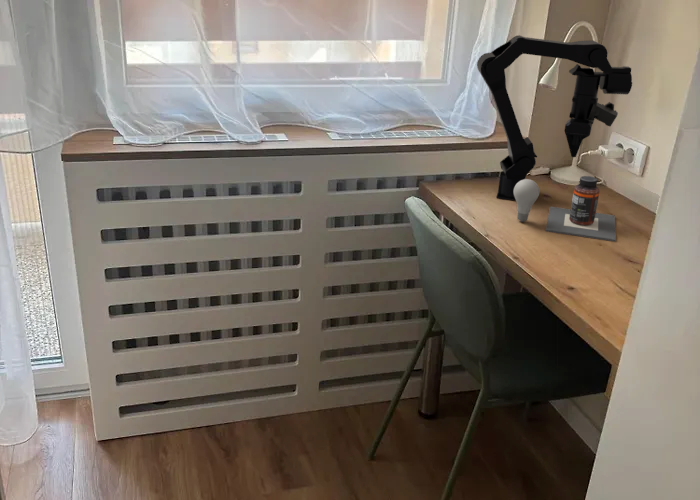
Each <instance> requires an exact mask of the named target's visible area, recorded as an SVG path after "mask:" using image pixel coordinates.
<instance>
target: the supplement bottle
mask: <svg viewBox="0 0 700 500" xmlns="http://www.w3.org/2000/svg"><path fill="white" fill-rule="evenodd" d="M578 182H579V183H578V184H576V185H575V186H574V188H573V193H572V201H571V206H570V209H571V211H570V218H569V219H570V221H571V222H573V223H575V224H578V225H591V224H592V223H593V222H594V219H595V214H596V213H597V209H598V202H599V196H600V188H599V187H598V186H597V185H598V184H597V183H598V178H597V177H594V176H591V175H583V176H580V177H579V181H578Z"/></svg>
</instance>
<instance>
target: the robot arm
mask: <svg viewBox="0 0 700 500" xmlns="http://www.w3.org/2000/svg"><path fill="white" fill-rule="evenodd" d="M522 55H531V56H539V57H546V58H553V59H554V58H555V59H563V60H569V61H571V62H574V63H576V65H575V66H573V67H572V68H570V69H569V71H568V73H570V74H571V75H572V76H576V78H575V79H576V80H575V84H574V90H573V95H572V99H571V102H572V103H571V108H570V112H569V118H570V119H568V120H567V121H566V122H565V124H564V135H565V138H566V141H567V146H568V148H569V153H570V157H572V158H576V157H577V155H578V153H579V151H580V150H579V149H580V147H581V145H582V142H583V140H585V139H586V138H588V137H589V136H590V135H591V132H592V128H593V124H594V122H595V120H596V121H599V122H601V123H603V124H605V126H607V127H611V126H612V125H613V123H614V122H615V120H616V118H617V117H618V114H619V113H618V111H617V110H615V104H614V103H613V102H610V101H609V102H607V103H605V104H602V103H600V102H598V100H599V97H598V92H599V90H602V93H603V94H604V95H605V94H607V95H629V93H630V92H631V90H632V86H633V81H632V80H633V78H632V67H629V66H624V65H623V66H612V65H611V63H610V61H609V59H608V49H607V48H606V47H605V45H603V44H601V43H600V42H597V41H596V40H590V39H589V40H577V41H571V42H566V41H559V40H550V39H542V38H535V37H534V38H533V37H525V36H522V35H514V36H513V37H511V39H510V40H508V41H507V42H505V43H503V44H502V45H500V46H498V47H496V48H495V49H493V50H492V51H490V52H485V53H484V54H482V55H481V56H480V57H479V58H478V60H477V62H476V68H477V70H478V72H479V74H480V76H481V77H482V79H483V81H484V83H485V84H486V86H487V87H488V89H489V91H490V93H491V96H492V99H493V102H494V105H495V107H496V108H495V109H496V110H497V114H498V116H499V120H500V123H501V125H502V128H503V131H504V133H505V136H506V140H507V152H508V155H507V156H506V157H504V158H503V159H502V160H501V161H500V162H499V165H500V169H501V171H500V174H499V179H498V189H497V194H496V195H495V197H496V198H497V199H500V200H501V199H502V200H511V201H516V199H515V196H514V187H515V185H516V184H517V183H518V182H519V181H521V180H524V179H526V177H527V176H528V173H529V172H530V171H532V170H533V169H534V167H535V166H536V158H538V155H537V154H536V153H535V149H534V144H533V142H532V140H531V139H530V138H529V137H528V136H525V138H524V137H523V134H522V131H521V129H520V125H519V122H518V120H517V117H516V114H515V111H514V107H513V105H512V102H511V99H510V96H509V94H508V90H507V81H506V72H505V70H506V69H507V68H508V67H510V66H511V65H512V64H513V63H514V62H515V61H516V60H517V59H518V58H519V57H521V56H522ZM581 65H582V66H585V67H582V66H581ZM594 69H597V70H600V71H594Z"/></svg>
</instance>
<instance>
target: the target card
mask: <svg viewBox="0 0 700 500" xmlns="http://www.w3.org/2000/svg"><path fill="white" fill-rule="evenodd" d="M570 211H571V208H563V207H557V206H549V211H548V215H547V216H548V217H547V221H546V226H545V227H546V228H545V232H547V233H555V234H561V235H568V236H575V237H582V238H590V239H593V240H594V239H596V240H602V241H609V242H614V243H615V242H616V241H617V239H616V238H617V237H616V217H615V215H614V214H607V213H599V212H596V214H595V219H594V222H593V223H592V224H591V225H578V224H575V223H573V222H571V221H570V219H569V218H570Z"/></svg>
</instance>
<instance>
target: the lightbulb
mask: <svg viewBox="0 0 700 500" xmlns="http://www.w3.org/2000/svg"><path fill="white" fill-rule="evenodd" d="M514 196H515V199H516V200H515V201H516V207H517V208H516V211H517V217H516V218H517V220H518V221H519V222H521V223H523V222H526V221H528V219H529V215H530V213H531V209H532V206H533V205H534V203H535V202H536V201H537V199H538V198H539V196H540V187H539V185H538V184H537V182H535V180H532V179H531V178H525V179H524V180H521V181H519V182H518V183H517V184H516V185H515V187H514Z"/></svg>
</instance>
